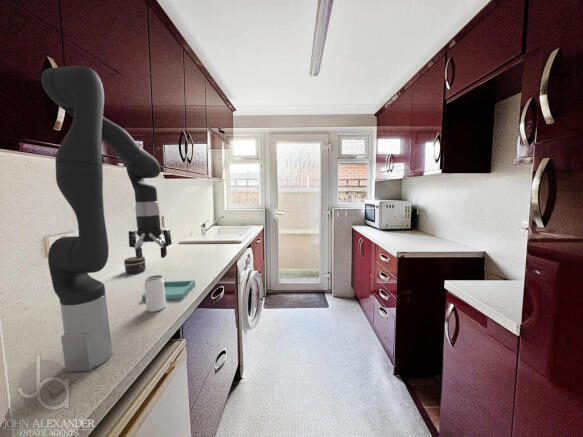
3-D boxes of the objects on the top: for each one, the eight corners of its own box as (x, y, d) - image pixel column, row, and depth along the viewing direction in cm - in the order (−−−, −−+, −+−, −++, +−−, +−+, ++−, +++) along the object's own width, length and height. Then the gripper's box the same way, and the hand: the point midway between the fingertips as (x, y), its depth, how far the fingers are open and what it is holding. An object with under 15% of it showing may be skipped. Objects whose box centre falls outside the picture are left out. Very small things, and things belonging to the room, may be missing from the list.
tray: (182, 299, 107) (181, 294, 107) (142, 301, 106) (141, 295, 106) (195, 285, 123) (194, 280, 123) (160, 286, 122) (160, 281, 122)
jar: (134, 275, 140) (132, 261, 139) (120, 273, 144) (119, 260, 143) (150, 269, 149) (148, 256, 148) (137, 268, 153) (136, 255, 152)
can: (158, 312, 96) (155, 281, 95) (142, 311, 97) (139, 280, 96) (169, 305, 102) (167, 275, 101) (155, 304, 104) (152, 274, 102)
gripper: (121, 215, 92) (126, 261, 94) (163, 214, 92) (166, 259, 94) (133, 213, 99) (137, 255, 101) (172, 212, 100) (175, 254, 101)
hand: (151, 257), depth 97 cm, fingers open, 8 cm apart
